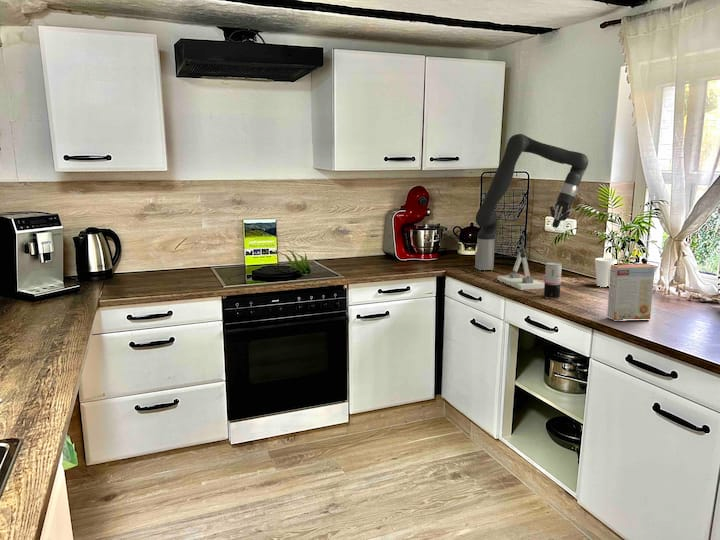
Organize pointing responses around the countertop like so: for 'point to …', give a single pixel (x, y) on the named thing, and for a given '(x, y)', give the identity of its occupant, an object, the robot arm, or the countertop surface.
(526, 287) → the switch base
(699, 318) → the countertop surface
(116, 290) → the countertop surface
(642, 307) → the cracker box
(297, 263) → the decorative plant
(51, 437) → the countertop surface
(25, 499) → the countertop surface
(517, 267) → the lever
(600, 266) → the foam cup
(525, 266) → the lever
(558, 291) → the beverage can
